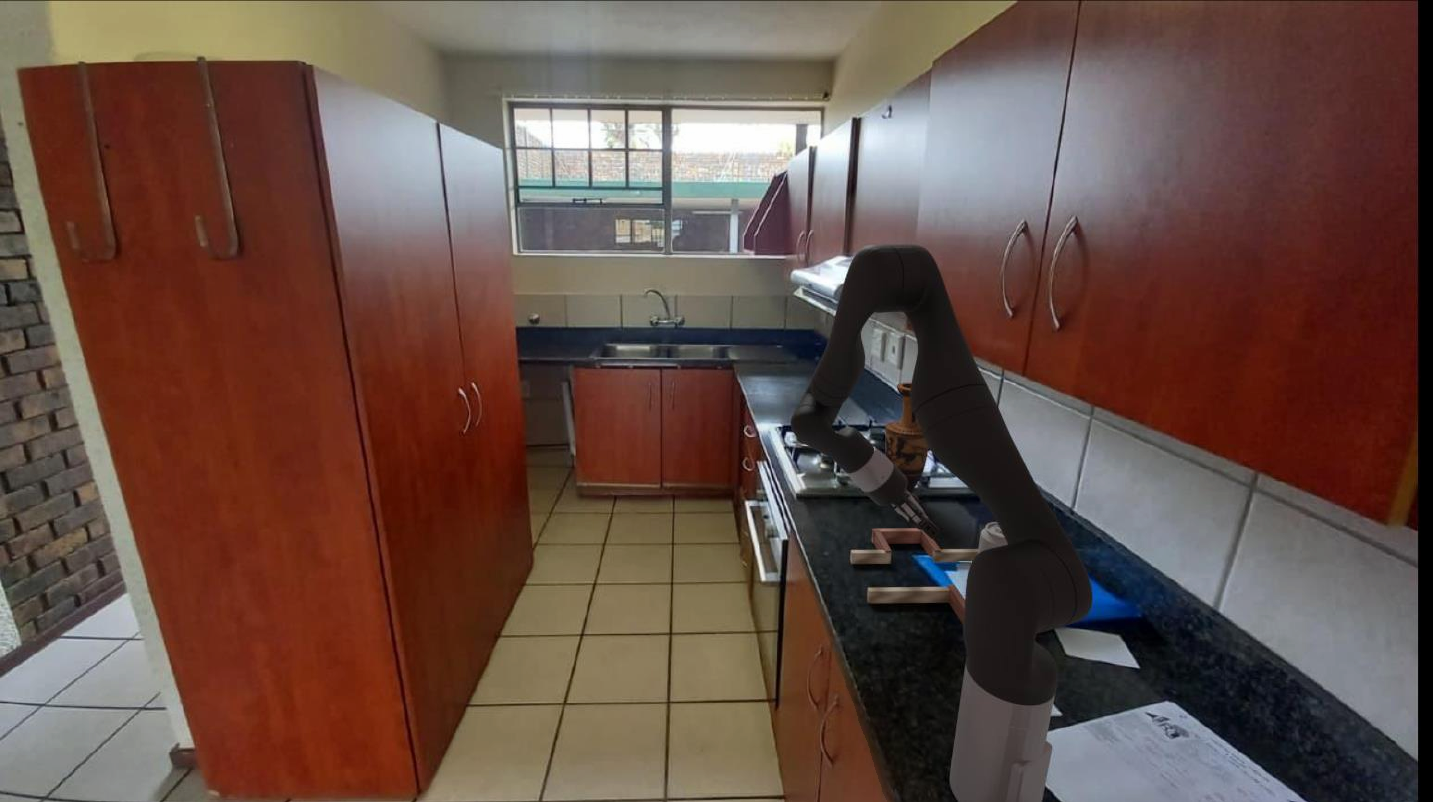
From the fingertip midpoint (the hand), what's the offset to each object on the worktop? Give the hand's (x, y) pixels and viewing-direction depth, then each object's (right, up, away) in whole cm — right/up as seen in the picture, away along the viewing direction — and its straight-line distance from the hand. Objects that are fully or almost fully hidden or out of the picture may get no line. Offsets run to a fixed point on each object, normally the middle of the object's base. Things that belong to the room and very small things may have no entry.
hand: (935, 534), depth 112 cm
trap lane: (+2, -10, +3) cm, 10 cm away
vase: (+5, 0, +37) cm, 37 cm away
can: (+12, -10, +2) cm, 16 cm away
